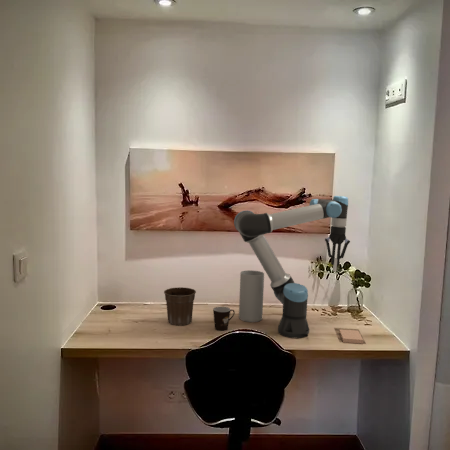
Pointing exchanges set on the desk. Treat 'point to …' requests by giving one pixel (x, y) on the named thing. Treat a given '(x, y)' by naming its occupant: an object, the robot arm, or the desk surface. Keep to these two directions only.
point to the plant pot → (179, 305)
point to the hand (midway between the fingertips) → (334, 270)
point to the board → (346, 329)
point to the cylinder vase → (251, 296)
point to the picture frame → (350, 336)
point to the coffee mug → (222, 318)
